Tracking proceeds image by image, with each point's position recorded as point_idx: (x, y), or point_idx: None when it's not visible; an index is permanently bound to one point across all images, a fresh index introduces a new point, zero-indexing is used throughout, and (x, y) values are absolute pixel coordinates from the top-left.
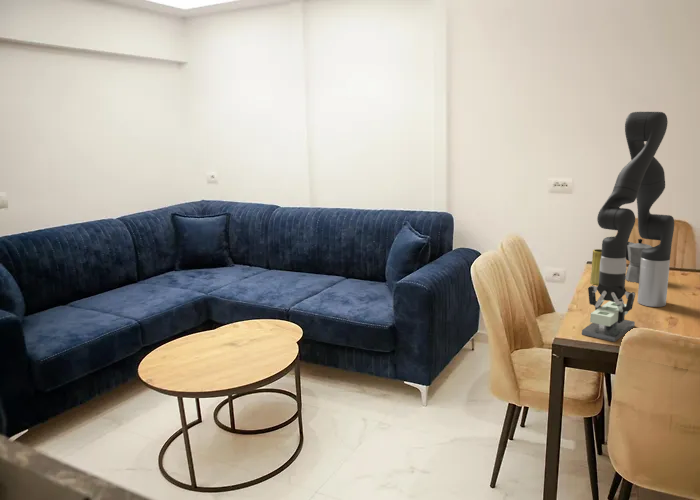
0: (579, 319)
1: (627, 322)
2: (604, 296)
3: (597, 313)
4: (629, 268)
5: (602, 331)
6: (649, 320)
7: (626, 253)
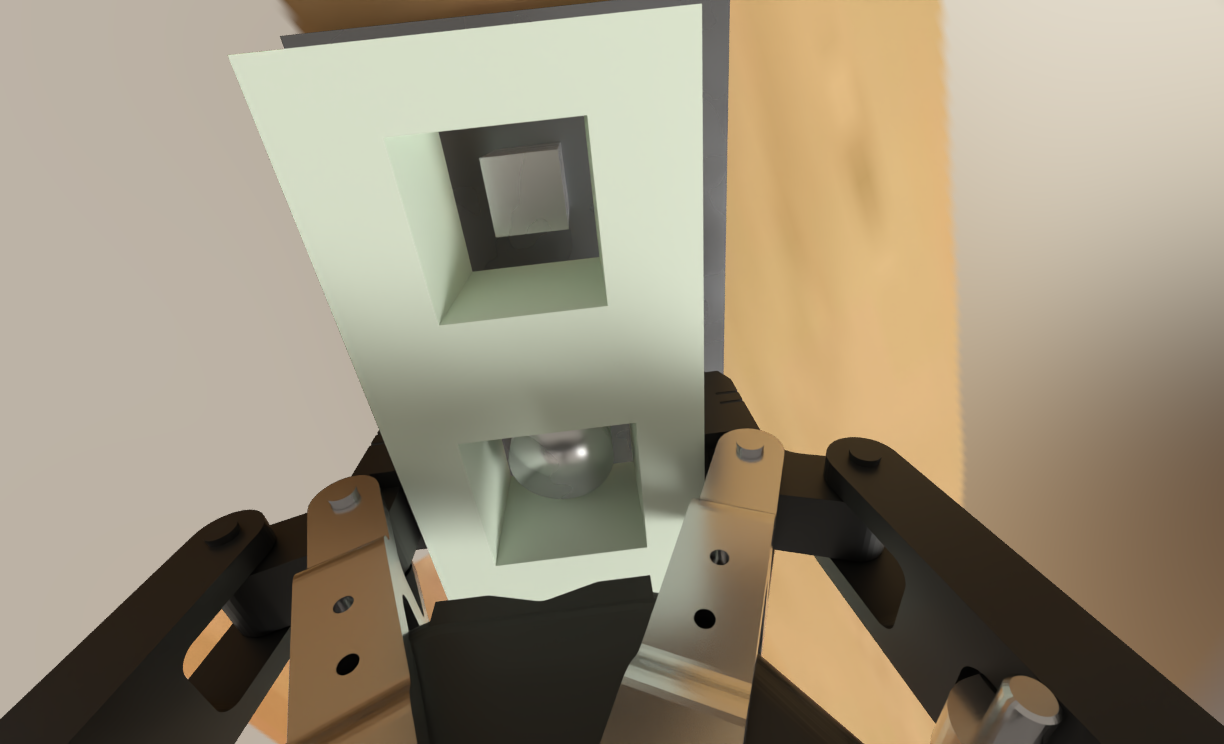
0: (869, 411)
1: None
2: (649, 648)
3: (580, 113)
4: None
5: (515, 146)
6: None
7: None
